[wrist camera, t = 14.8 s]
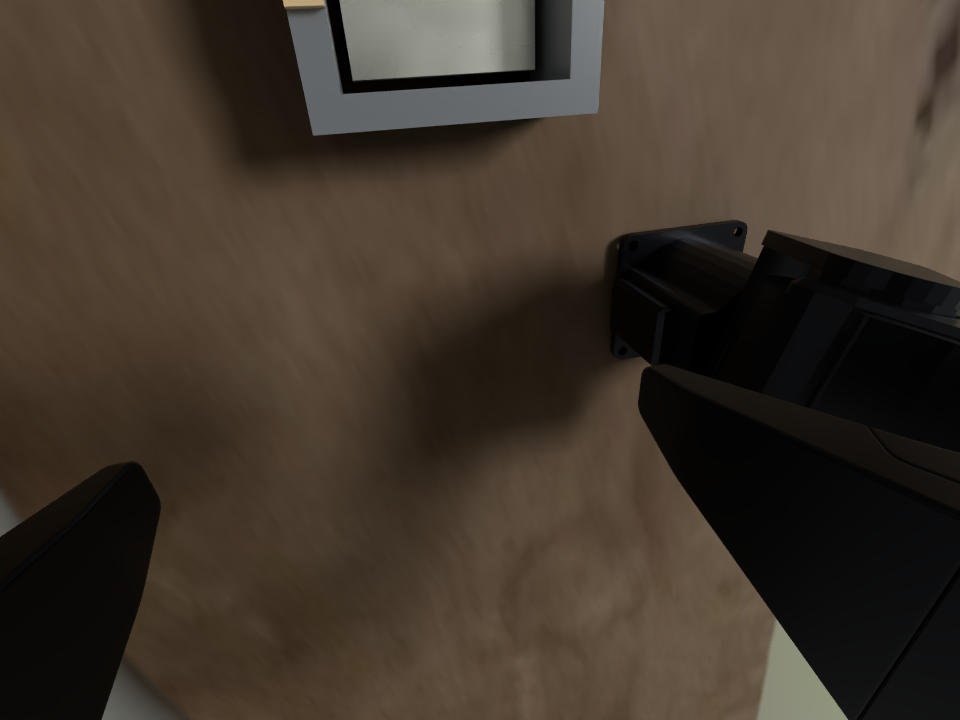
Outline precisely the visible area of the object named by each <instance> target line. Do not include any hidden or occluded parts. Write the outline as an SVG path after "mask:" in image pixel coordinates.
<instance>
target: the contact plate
mask: <svg viewBox="0 0 960 720" xmlns="http://www.w3.org/2000/svg"><path fill="white" fill-rule="evenodd" d="M339 1H340V7H341V13H342V19H343V25H344V31H345V37H346V43H347V49H348V55H349V61H350V67H351V73H352V79H353V82H369V81H385V80H401V79H417V78H433V77H449V76H465V75H481V74H497V73H513V72H524V71H529V70H534V69H535V0H339Z"/></svg>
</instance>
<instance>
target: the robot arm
mask: <svg viewBox="0 0 960 720" xmlns="http://www.w3.org/2000/svg"><path fill="white" fill-rule="evenodd" d="M736 228H737V231H736V233H735V234H734V235H733V233H734V230H735V229H736ZM746 234H747V225H746V224H745V223H744V222H742V221H738V220H730V221H723V222H715V223H707V224H699V225H691V226H684V227H676V228H668V229H660V230H652V231H645V232H637V233H630V234H627V235H625V236H624V237H623V238H622V239H621V241H620V244H619V253H618V265H617V277H616V280H615V282H614V283H613V292H612V304H611V317H610V329H611V330H612V336H611V347H610V350H611V353H612V355H613V356H614V357H615V358H617V359H627V358H633V357H638V356H641V357H642V358H644V359H645V360H646V361H647V362H648V363H649V364H650V365H652V366H650V367H646V368H645V369H644V370H643V372H642V376H641V383H640V391H639V399H638V407H639V411H640V414H641V416H642V418H643V420H644V422H645V423H646V425H647V427H648V429H649V430H650V432H651V434H652V436H653V438H654V439H655V441H656V443H657V445H658V447H659V448H660V450H661V452H662V454H663V455H664V457H665V459H666V461H667V463H668V464H669V466H670V468H671V469H672V471H673V473H674V474H675V476H676V478H677V479H678V481H679V482H680V484H681V485H682V487H683V488H684V489H685V491H686V492H687V494H688V495H689V496H690V498H691V499H692V501H693V502H694V503H695V505H696V506H697V508H698V509H699V510H700V512H701V513H702V515H703V516H704V518H705V519H706V520H707V522H708V523H709V525H710V526H711V527H712V529H713V530H714V532H715V533H716V534H717V536H718V537H719V539H720V540H721V541H722V543H723V544H724V546H725V547H726V548H727V550H728V551H729V553H730V554H731V555H732V557H733V558H734V560H735V561H736V563H737V564H738V565H739V567H740V568H741V570H742V571H743V572H744V574H745V575H746V577H747V578H748V579H749V581H750V582H751V584H752V585H753V586H754V588H755V589H756V591H757V592H758V593H759V595H760V596H761V598H762V599H763V600H764V602H765V603H766V605H767V606H768V608H769V609H770V610H771V612H772V613H773V615H774V616H775V617H776V619H777V620H778V622H779V623H780V624H781V626H782V627H783V629H784V630H785V631H786V633H787V634H788V636H789V637H790V638H791V640H792V641H793V643H794V644H795V645H796V647H797V648H798V650H799V651H800V652H801V654H802V655H803V657H804V658H805V659H806V661H807V662H808V664H809V665H810V667H811V668H812V669H813V671H814V672H815V674H816V675H817V676H818V678H819V679H820V681H821V682H822V683H823V685H824V686H825V688H826V689H827V690H828V692H829V693H830V695H831V696H832V697H833V699H834V700H835V702H836V703H837V705H838V706H839V707H840V709H841V710H842V712H843V713H844V714H845V716H846V717H847V719H848V720H960V282H959V281H957V280H954V279H952V278H949V277H947V276H945V275H942V274H940V273H938V272H935V271H933V270H931V269H928V268H926V267H923V266H919V265H915V264H912V263H908V262H904V261H901V260H897V259H893V258H890V257H886V256H882V255H878V254H875V253H871V252H867V251H864V250H860V249H855V248H851V247H846V246H842V245H837V244H832V243H828V242H823V241H818V240H814V239H809V238H804V237H800V236H795V235H790V234H786V233H781V232H776V231H772V230H768V231H767V233H766V235H765V237H764V240H763V242H762V245H764V247H763V249H762V251H761V253H760V255H759V257H758V258H756V257H753V256H750V255H748V254H745V253H743V248H744V244H745V239H746ZM632 241H634V245H633V247H632V248H631V249H628V246H629V244H630V243H631V242H632ZM621 347H623V349H622V351H620V352H618V351H619V349H620V348H621ZM160 511H161V504H160V499H159V496H158V494H157V492H156V491H155V489H154V487H153V485H152V483H151V481H150V480H149V478H148V476H147V474H146V472H145V471H144V469H143V467H142V466H141V465H140V464H139V463H137V462H134V461H131V462H125V463H120V464H114V465H109V466H107V467H104V468H103V469H101V470H100V471H98V472H97V473H95V474H94V475H92V476H91V477H89V478H88V479H86V480H85V481H83V482H82V483H80V484H79V485H77V486H76V487H74V488H73V489H71V490H70V491H68V492H67V493H65V494H64V495H62V496H61V497H59V498H58V499H56V500H55V501H53V502H52V503H50V504H49V505H47V506H46V507H44V508H43V509H41V510H40V511H38V512H37V513H35V514H34V515H32V516H31V517H29V518H28V519H26V520H25V521H23V522H22V523H20V524H19V525H17V526H16V527H14V528H13V529H11V530H10V531H8V532H7V533H6V534H4V535H2V536H1V537H0V720H101V719H102V716H103V714H104V710H105V707H106V705H107V702H108V699H109V696H110V692H111V689H112V687H113V684H114V680H115V677H116V675H117V671H118V669H119V665H120V662H121V660H122V657H123V654H124V651H125V648H126V645H127V642H128V639H129V636H130V633H131V630H132V627H133V624H134V621H135V618H136V615H137V612H138V608H139V605H140V602H141V599H142V595H143V591H144V587H145V582H146V578H147V573H148V568H149V563H150V559H151V554H152V549H153V545H154V540H155V535H156V530H157V526H158V521H159V516H160Z"/></svg>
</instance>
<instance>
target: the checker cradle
mask: <svg viewBox="0 0 960 720" xmlns="http://www.w3.org/2000/svg"><path fill="white" fill-rule="evenodd" d="M283 3H284V7H285V8H286V11H287V15H288V20H289V25H290V29H291V34H292V39H293V44H294V48H295V53H296V58H297V62H298V67H299V72H300V76H301V81H302V86H303V90H304V95H305V100H306V104H307V109H308V114H309V119H310V123H311V128H312V133H313V136H315V135H328V134H340V133H353V132H365V131H378V130H390V129H403V128H415V127H428V126H440V125H453V124H465V123H478V122H490V121H503V120H515V119H527V118H540V117H552V116H565V115H577V114H590V113H598V106H599V88H600V70H601V52H602V34H603V16H604V0H535V69H534V70H530V82H518V83H503V84H488V85H473V86H458V87H443V88H428V89H413V90H398V91H383V92H368V93H353V94H343V88H342V82H341V77H340V71H339V66H338V60H337V54H336V49H335V43H334V37H333V32H332V26H331V21H330V15H329V9H328V4H327V0H283Z"/></svg>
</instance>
